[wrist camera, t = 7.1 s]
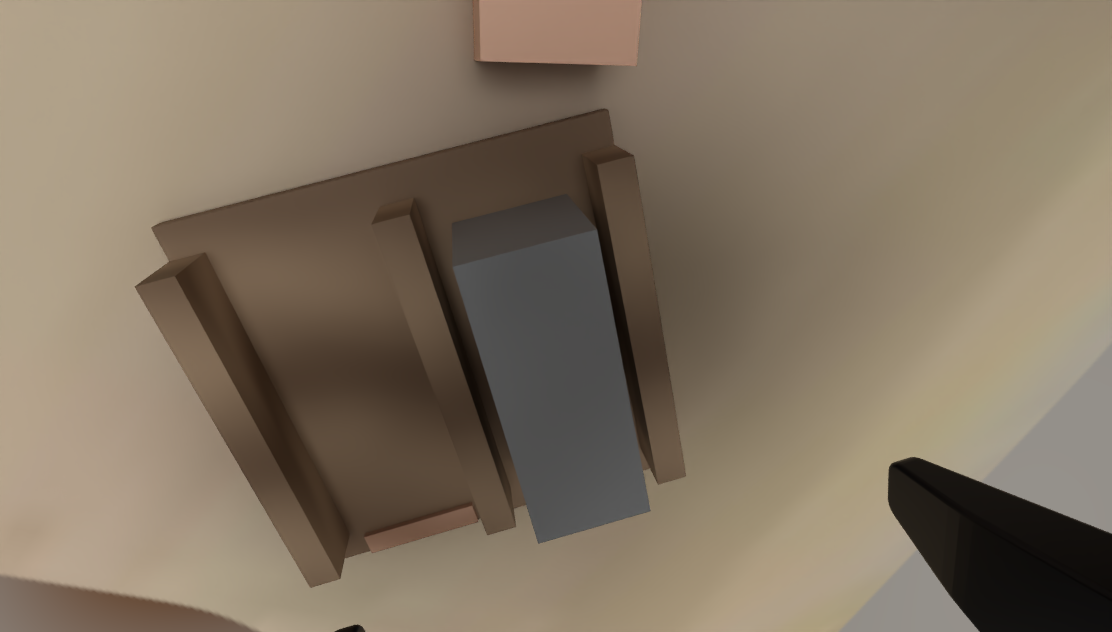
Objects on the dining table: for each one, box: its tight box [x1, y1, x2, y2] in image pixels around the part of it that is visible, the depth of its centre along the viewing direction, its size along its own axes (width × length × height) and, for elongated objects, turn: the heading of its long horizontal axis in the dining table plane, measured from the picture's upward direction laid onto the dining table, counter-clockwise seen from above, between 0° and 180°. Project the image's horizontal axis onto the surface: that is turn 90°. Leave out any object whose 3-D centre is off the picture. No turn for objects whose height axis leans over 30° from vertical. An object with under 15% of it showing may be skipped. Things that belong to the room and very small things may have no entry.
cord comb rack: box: [135, 109, 686, 588], centre depth 18 cm, size 13×13×2 cm
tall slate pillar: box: [452, 194, 650, 544], centre depth 17 cm, size 9×4×4 cm, turn 12°
